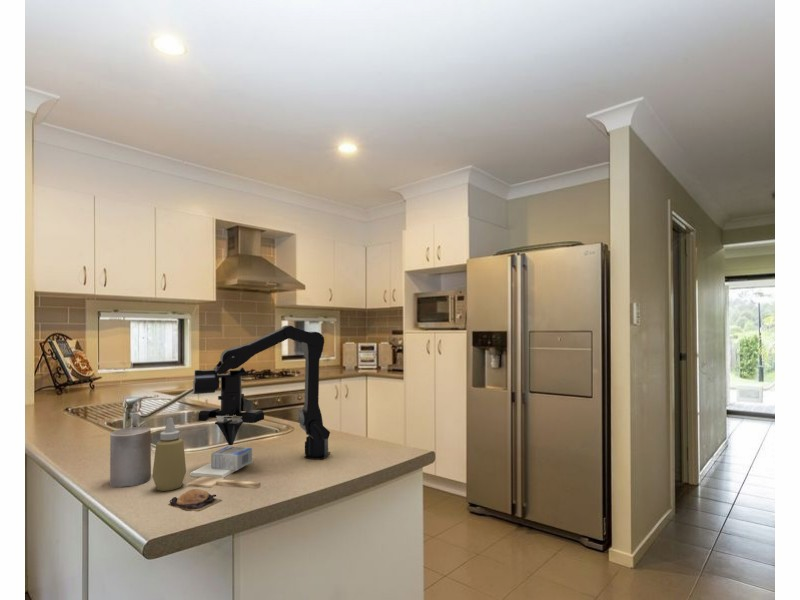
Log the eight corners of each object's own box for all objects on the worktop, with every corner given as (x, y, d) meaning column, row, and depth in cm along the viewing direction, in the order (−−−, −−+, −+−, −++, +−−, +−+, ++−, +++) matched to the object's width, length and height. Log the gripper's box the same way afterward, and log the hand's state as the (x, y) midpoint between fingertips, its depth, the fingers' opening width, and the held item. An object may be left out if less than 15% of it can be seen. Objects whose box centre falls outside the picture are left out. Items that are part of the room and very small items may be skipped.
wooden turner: (264, 483, 126) (264, 479, 126) (252, 491, 120) (252, 487, 120) (202, 478, 130) (202, 475, 130) (187, 486, 124) (187, 482, 124)
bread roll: (224, 502, 114) (224, 487, 114) (196, 515, 107) (196, 499, 107) (193, 495, 119) (193, 480, 119) (163, 507, 111) (164, 491, 111)
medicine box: (237, 455, 133) (210, 452, 135) (237, 471, 133) (210, 468, 135) (252, 447, 141) (227, 445, 143) (252, 462, 141) (226, 460, 143)
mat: (252, 461, 145) (252, 458, 145) (221, 478, 130) (222, 474, 130) (224, 459, 148) (224, 456, 148) (190, 476, 132) (190, 472, 132)
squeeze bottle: (163, 495, 118) (164, 422, 118) (145, 489, 122) (146, 419, 123) (192, 485, 124) (193, 416, 125) (174, 480, 129) (175, 413, 129)
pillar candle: (137, 473, 135) (137, 420, 135) (158, 478, 130) (158, 424, 130) (102, 484, 126) (102, 428, 127) (122, 490, 122) (122, 431, 122)
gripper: (273, 388, 145) (273, 439, 144) (219, 386, 149) (219, 436, 148) (254, 393, 134) (254, 449, 133) (196, 392, 138) (196, 446, 137)
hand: (230, 444), depth 138 cm, fingers closed
